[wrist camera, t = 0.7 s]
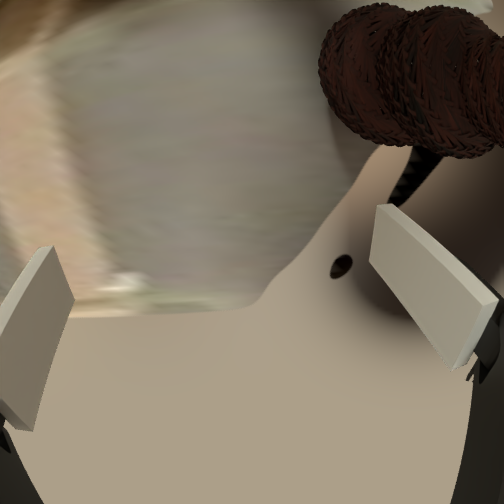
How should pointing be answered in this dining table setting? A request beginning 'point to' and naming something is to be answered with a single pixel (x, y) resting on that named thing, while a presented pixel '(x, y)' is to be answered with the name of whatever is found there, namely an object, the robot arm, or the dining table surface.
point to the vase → (416, 78)
